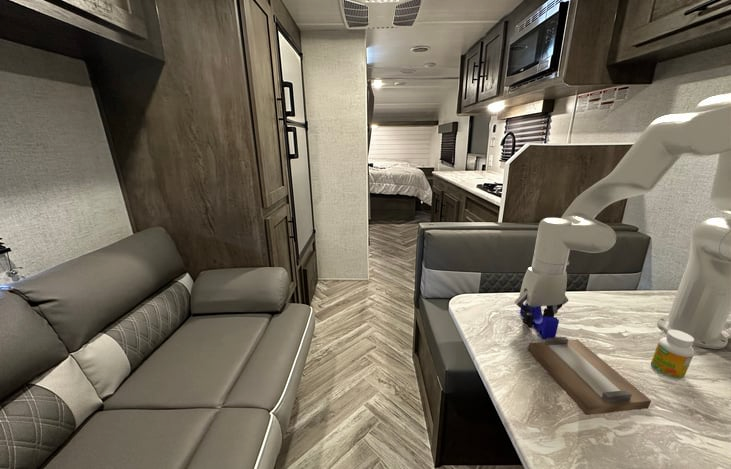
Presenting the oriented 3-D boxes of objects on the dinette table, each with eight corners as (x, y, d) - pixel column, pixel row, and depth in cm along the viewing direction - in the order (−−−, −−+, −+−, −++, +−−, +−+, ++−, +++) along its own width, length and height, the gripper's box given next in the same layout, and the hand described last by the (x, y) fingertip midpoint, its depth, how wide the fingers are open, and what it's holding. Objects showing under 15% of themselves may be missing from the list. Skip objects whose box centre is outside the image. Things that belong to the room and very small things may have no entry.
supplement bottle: (644, 366, 67) (657, 330, 64) (658, 360, 69) (671, 325, 65) (674, 383, 62) (690, 346, 59) (689, 376, 64) (705, 339, 61)
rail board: (575, 345, 73) (578, 334, 72) (648, 408, 56) (653, 394, 55) (527, 349, 72) (529, 338, 71) (586, 415, 55) (590, 401, 54)
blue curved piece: (519, 312, 88) (523, 295, 86) (535, 314, 87) (539, 296, 85) (536, 338, 76) (540, 319, 74) (554, 340, 76) (559, 320, 74)
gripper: (568, 257, 80) (555, 314, 86) (509, 261, 78) (500, 318, 84) (590, 269, 73) (575, 330, 79) (526, 273, 71) (515, 335, 77)
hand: (537, 323), depth 81 cm, fingers open, 5 cm apart
